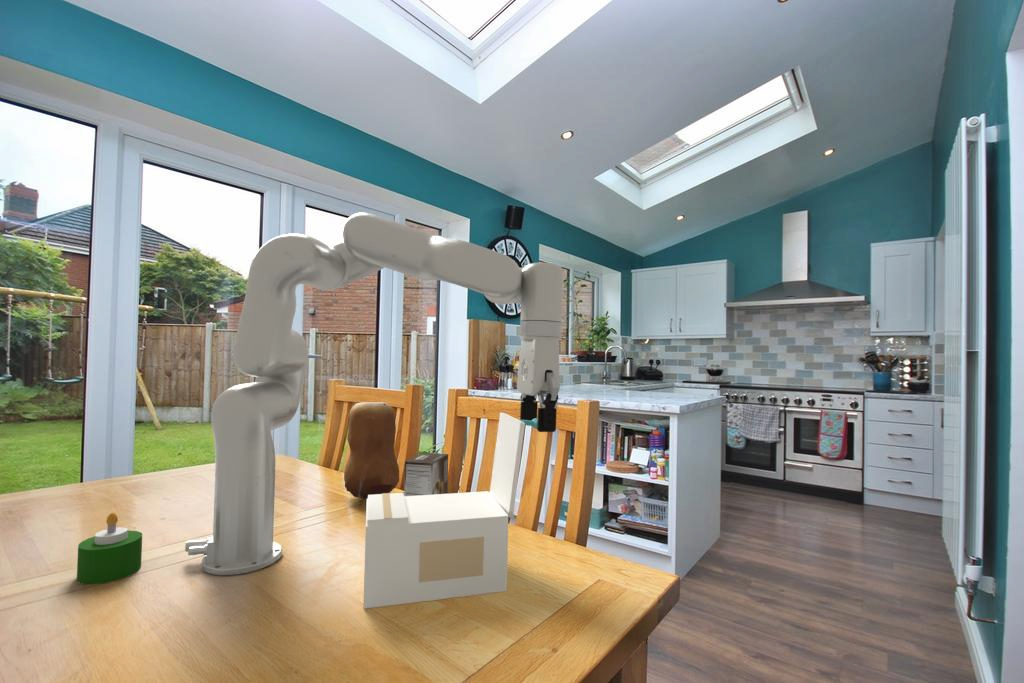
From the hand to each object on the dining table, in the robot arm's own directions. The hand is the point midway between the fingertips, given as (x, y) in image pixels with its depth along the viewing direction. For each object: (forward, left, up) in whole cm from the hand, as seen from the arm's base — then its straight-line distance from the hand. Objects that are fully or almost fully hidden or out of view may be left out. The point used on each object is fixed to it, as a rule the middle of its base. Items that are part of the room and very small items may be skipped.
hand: (536, 427), depth 86 cm
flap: (-6, 0, -6) cm, 8 cm away
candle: (-70, +15, -25) cm, 76 cm away
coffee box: (-17, +20, -25) cm, 36 cm away
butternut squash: (-28, +47, -25) cm, 60 cm away
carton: (-18, 0, -25) cm, 31 cm away
